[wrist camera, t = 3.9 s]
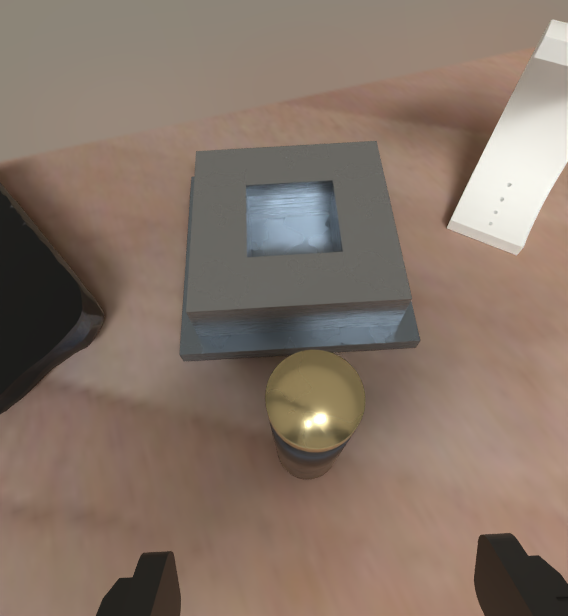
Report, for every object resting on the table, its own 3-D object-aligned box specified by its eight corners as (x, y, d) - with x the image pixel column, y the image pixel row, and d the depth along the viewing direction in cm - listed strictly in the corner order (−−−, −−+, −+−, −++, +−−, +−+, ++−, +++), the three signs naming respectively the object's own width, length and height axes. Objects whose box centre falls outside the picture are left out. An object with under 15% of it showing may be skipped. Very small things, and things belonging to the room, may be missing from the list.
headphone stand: (445, 228, 27) (543, 36, 16) (474, 168, 29) (575, -34, 19) (517, 255, 26) (672, 68, 15) (540, 191, 28) (689, -10, 18)
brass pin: (278, 481, 20) (266, 451, 12) (275, 419, 22) (263, 352, 13) (340, 477, 20) (372, 445, 12) (333, 415, 22) (357, 347, 13)
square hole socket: (183, 361, 23) (164, 332, 20) (194, 187, 29) (180, 140, 26) (415, 347, 23) (437, 315, 20) (378, 176, 29) (389, 128, 26)
